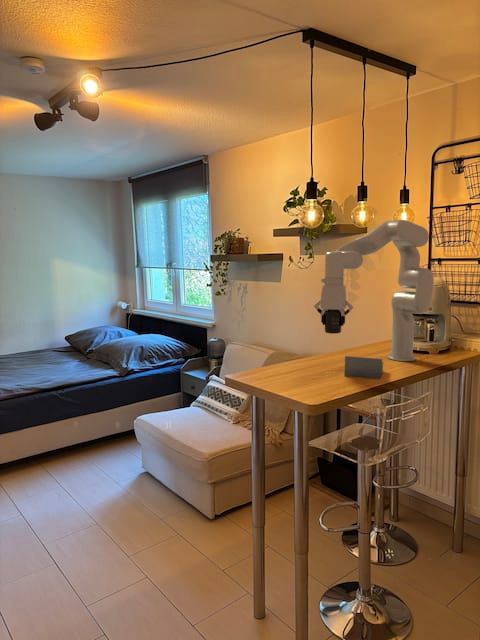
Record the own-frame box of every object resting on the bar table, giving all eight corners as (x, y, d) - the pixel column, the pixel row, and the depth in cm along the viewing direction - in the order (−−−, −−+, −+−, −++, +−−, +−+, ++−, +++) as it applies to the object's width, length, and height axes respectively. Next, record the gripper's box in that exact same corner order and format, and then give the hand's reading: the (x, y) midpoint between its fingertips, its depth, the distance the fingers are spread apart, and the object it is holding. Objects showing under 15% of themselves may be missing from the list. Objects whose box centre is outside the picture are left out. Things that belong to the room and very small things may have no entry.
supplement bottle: (342, 331, 195) (343, 303, 193) (338, 334, 189) (339, 305, 187) (326, 330, 198) (327, 302, 196) (322, 333, 192) (323, 304, 190)
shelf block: (348, 368, 198) (349, 349, 197) (382, 371, 193) (383, 352, 192) (344, 376, 185) (345, 356, 184) (380, 379, 180) (382, 359, 179)
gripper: (311, 282, 190) (310, 325, 193) (354, 283, 184) (353, 327, 186) (315, 281, 197) (314, 322, 200) (356, 281, 191) (355, 324, 193)
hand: (333, 324), depth 193 cm, fingers closed on supplement bottle, 6 cm apart
